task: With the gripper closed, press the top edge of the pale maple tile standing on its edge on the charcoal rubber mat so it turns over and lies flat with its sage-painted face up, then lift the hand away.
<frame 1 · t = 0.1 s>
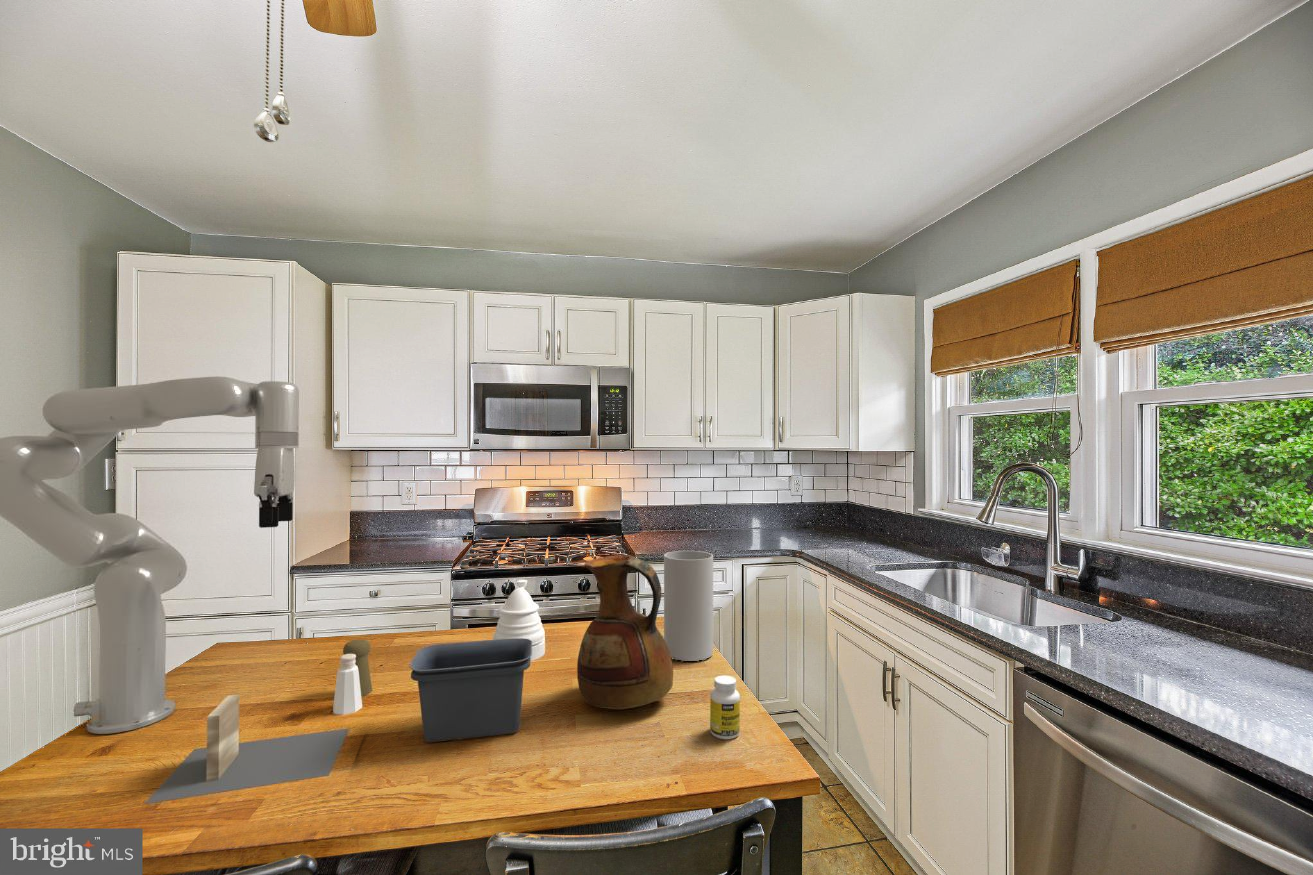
hand: (276, 523, 119), 37 cm above the table, tool pointing down, fingers open, 9 cm apart
storage bin: (474, 727, 108), on the table
salt shaker: (347, 712, 114), on the table
honey pot: (519, 654, 146), on the table
rubber mat: (258, 764, 95), on the table
supplement bottle: (725, 734, 105), on the table
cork: (356, 693, 123), on the table
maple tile: (223, 766, 93), resting on rubber mat
ceramic pitcher: (625, 700, 119), on the table
cylinder vase: (688, 654, 145), on the table
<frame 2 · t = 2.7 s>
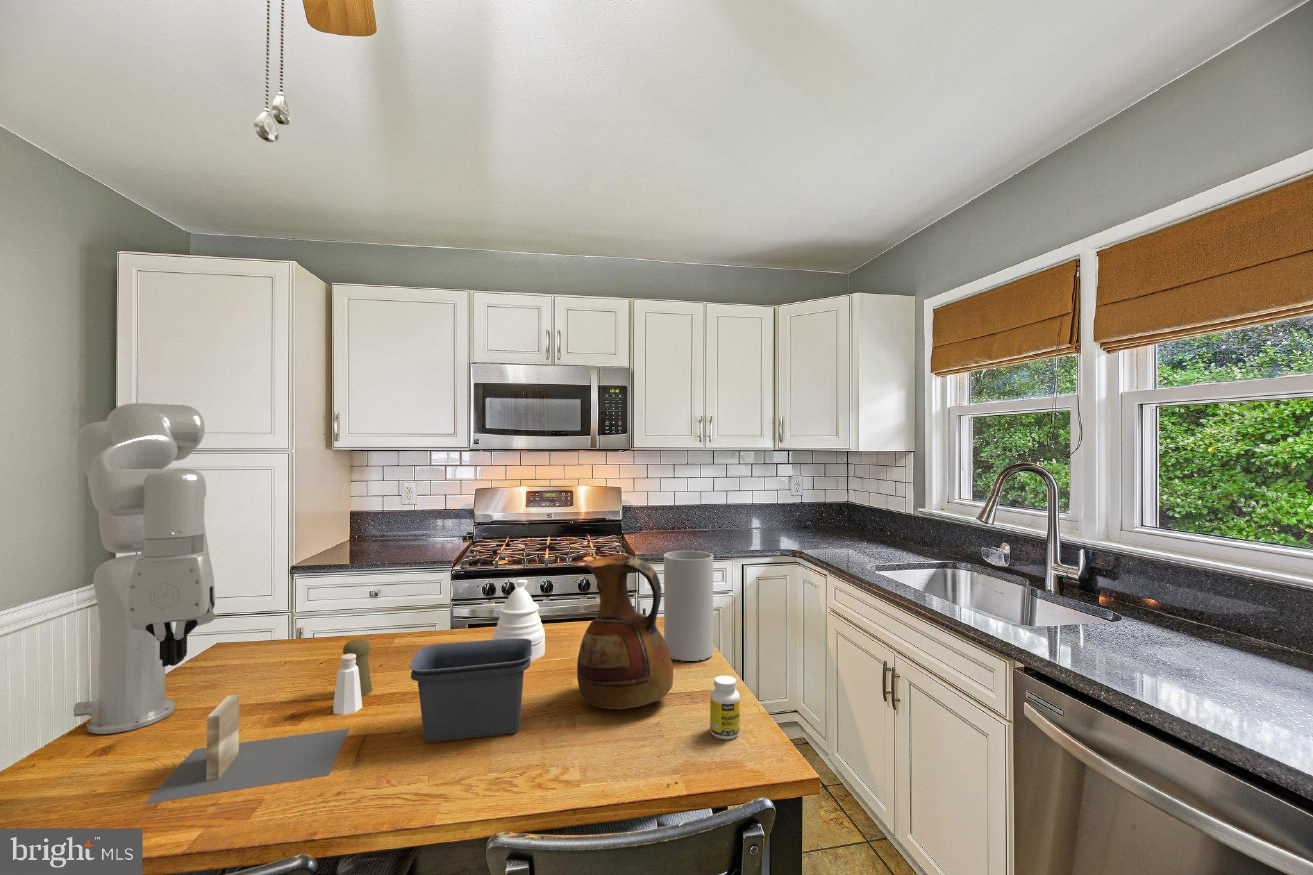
hand: (173, 662, 91), 18 cm above the table, tool pointing down, fingers closed
nothing on the table moved.
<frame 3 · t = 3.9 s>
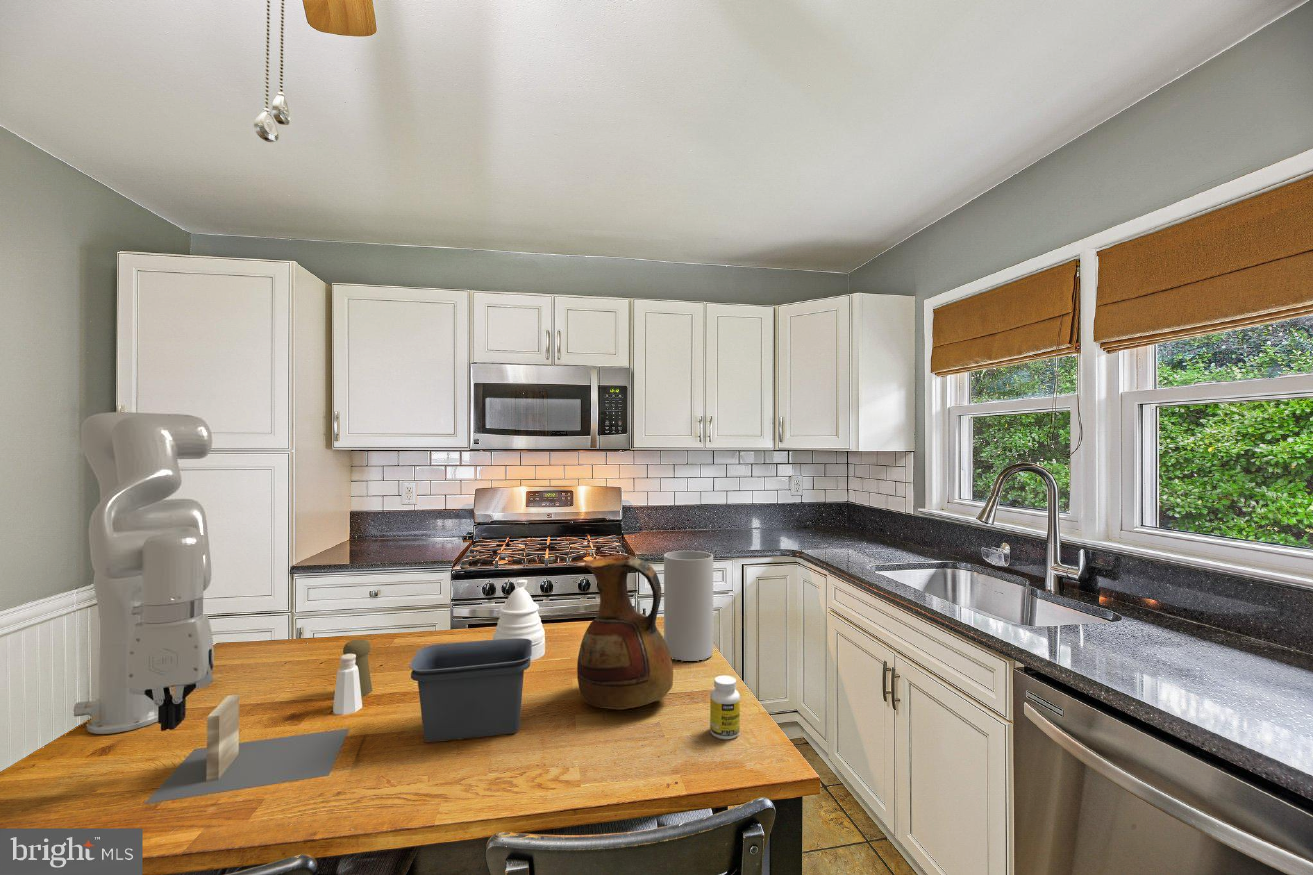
hand: (171, 726, 91), 8 cm above the table, tool pointing down, fingers closed
nothing on the table moved.
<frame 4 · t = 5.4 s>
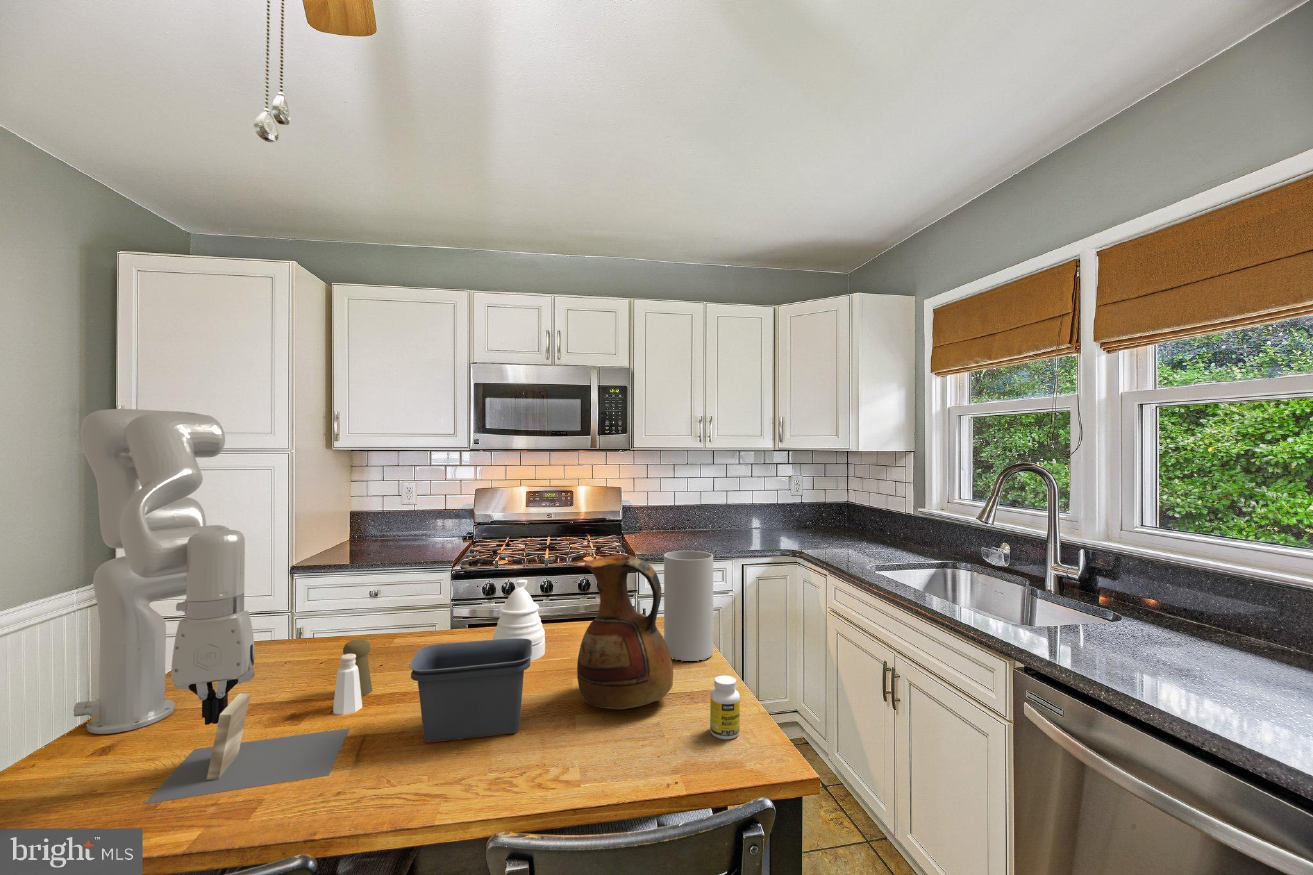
hand: (214, 720, 93), 8 cm above the table, tool pointing down, fingers closed
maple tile: (223, 765, 93), point 1 cm above the table, tilted 9°, touching gripper, rubber mat
everything else where it was.
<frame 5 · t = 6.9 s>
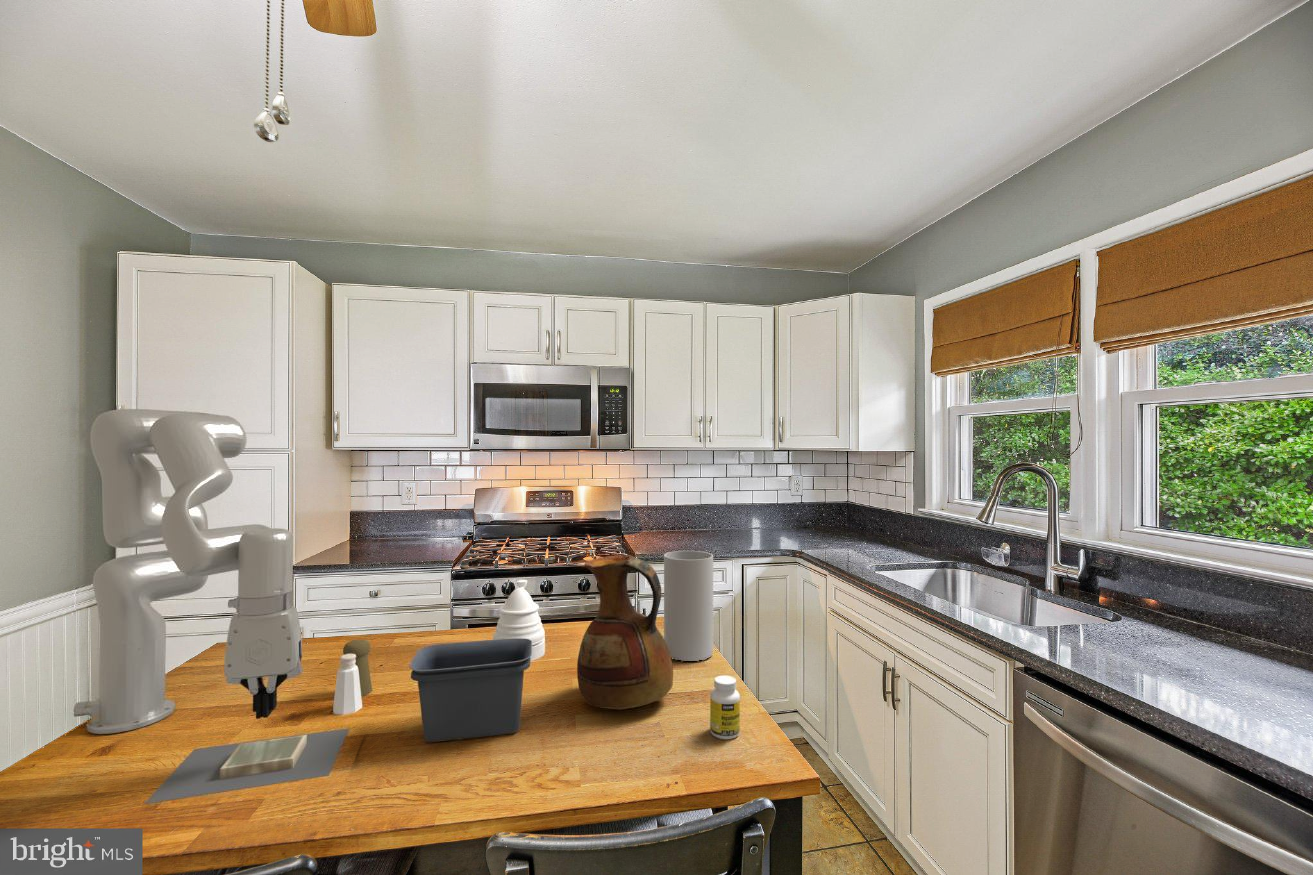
hand: (264, 714, 95), 8 cm above the table, tool pointing down, fingers closed
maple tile: (230, 760, 94), point 1 cm above the table, tilted 90°, touching rubber mat
everything else where it was.
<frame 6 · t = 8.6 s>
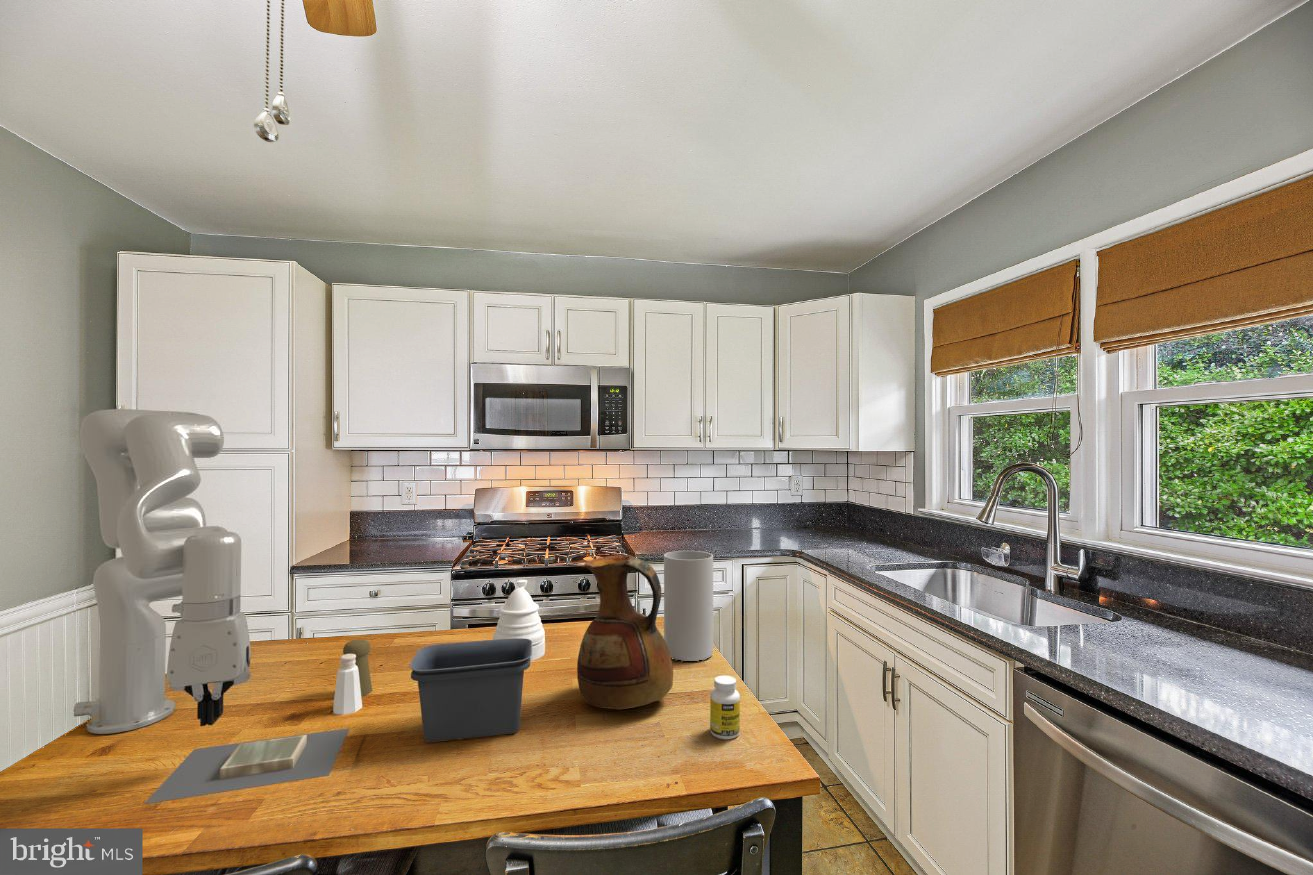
hand: (210, 721, 93), 8 cm above the table, tool pointing down, fingers closed
nothing on the table moved.
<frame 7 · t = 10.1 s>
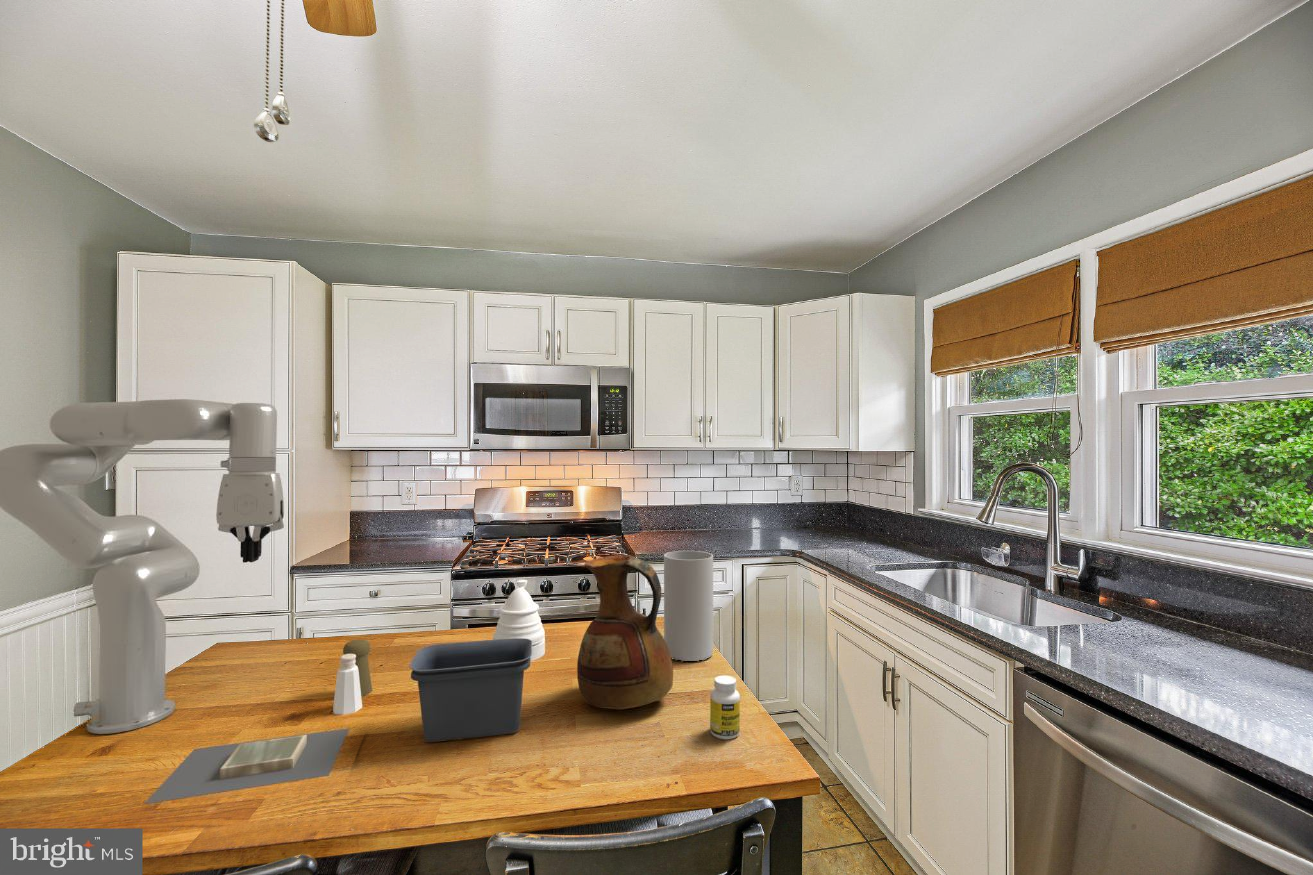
hand: (250, 560, 111), 31 cm above the table, tool pointing down, fingers closed
nothing on the table moved.
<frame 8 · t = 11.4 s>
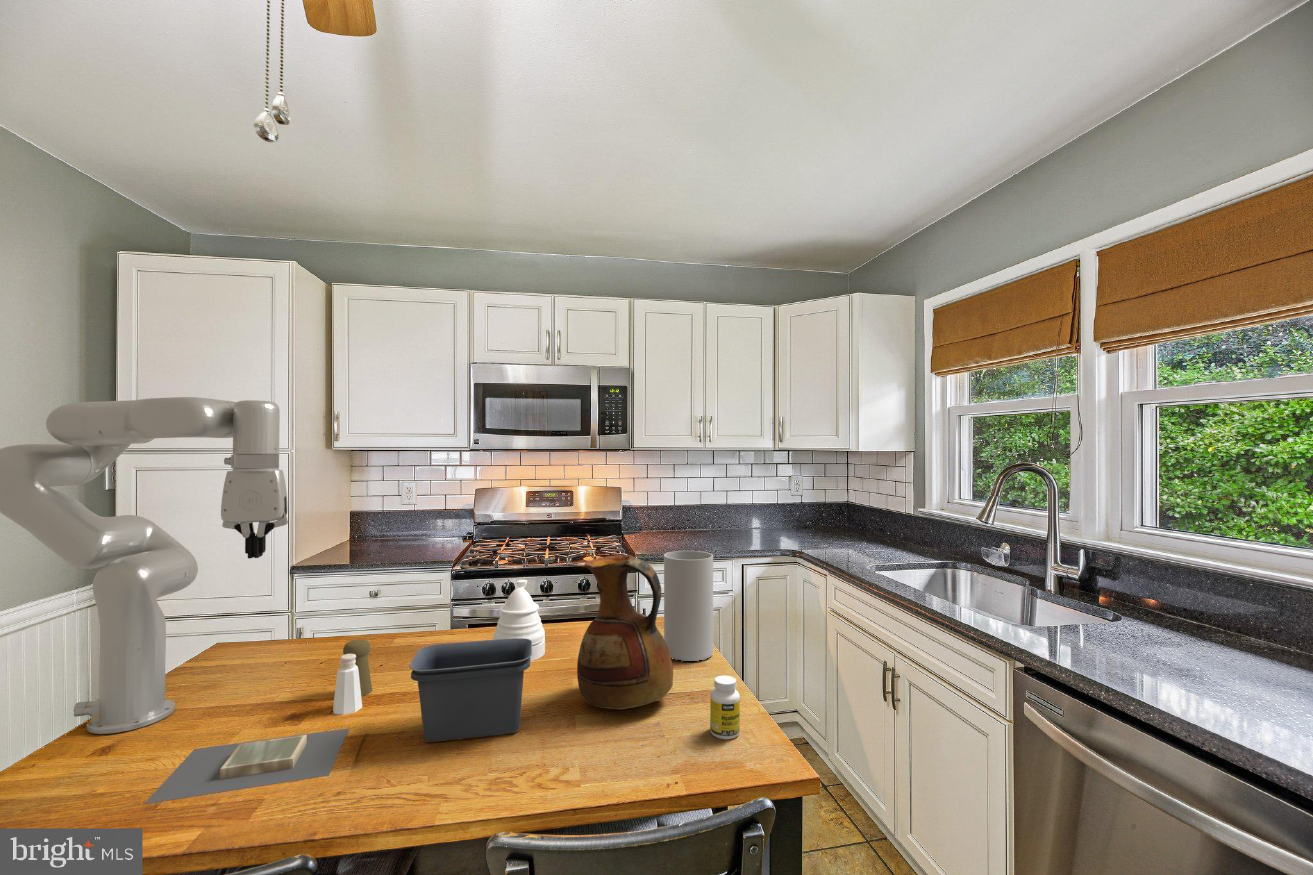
hand: (255, 556, 112), 31 cm above the table, tool pointing down, fingers closed
nothing on the table moved.
at the end: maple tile tilted 90°; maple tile inside the target area on the rubber mat (4.0 cm from its centre), point 1.3 cm above the rubber mat's base; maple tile touching rubber mat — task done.
